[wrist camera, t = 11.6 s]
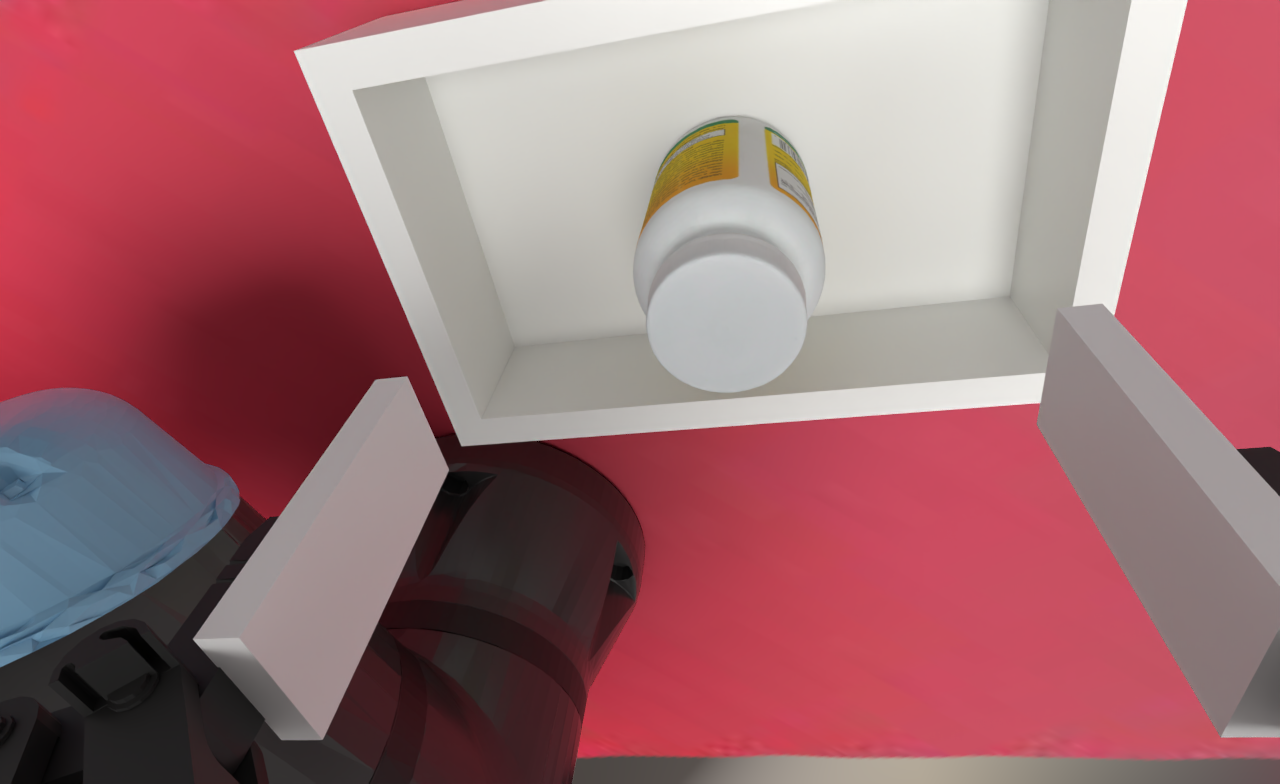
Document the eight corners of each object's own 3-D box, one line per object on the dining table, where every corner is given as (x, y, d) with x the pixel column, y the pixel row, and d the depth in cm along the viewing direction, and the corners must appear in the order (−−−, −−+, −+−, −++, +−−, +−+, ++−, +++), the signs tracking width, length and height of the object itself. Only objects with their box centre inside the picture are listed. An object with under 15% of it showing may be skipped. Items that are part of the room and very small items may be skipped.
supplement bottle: (829, 133, 23) (876, 258, 16) (778, 274, 27) (797, 434, 19) (673, 95, 23) (644, 201, 16) (640, 241, 26) (602, 390, 19)
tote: (1099, -131, 20) (1219, -135, 15) (1031, 307, 27) (1094, 398, 23) (382, 16, 24) (294, 51, 19) (502, 360, 32) (461, 446, 27)
